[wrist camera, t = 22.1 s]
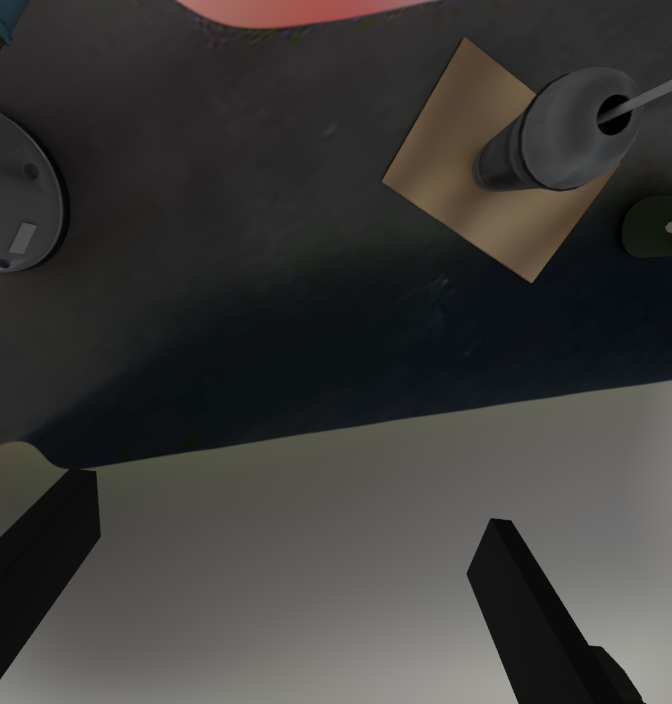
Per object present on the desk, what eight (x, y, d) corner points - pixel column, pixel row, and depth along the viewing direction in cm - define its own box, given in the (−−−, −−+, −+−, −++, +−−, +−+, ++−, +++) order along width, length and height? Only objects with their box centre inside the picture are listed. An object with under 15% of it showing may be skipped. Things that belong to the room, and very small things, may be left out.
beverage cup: (444, 158, 35) (588, 58, 16) (509, 108, 34) (749, -64, 15) (479, 221, 37) (645, 200, 18) (542, 176, 36) (792, 102, 16)
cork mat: (380, 182, 36) (381, 181, 35) (462, 39, 32) (464, 36, 32) (529, 282, 39) (531, 283, 39) (617, 163, 36) (621, 162, 35)
